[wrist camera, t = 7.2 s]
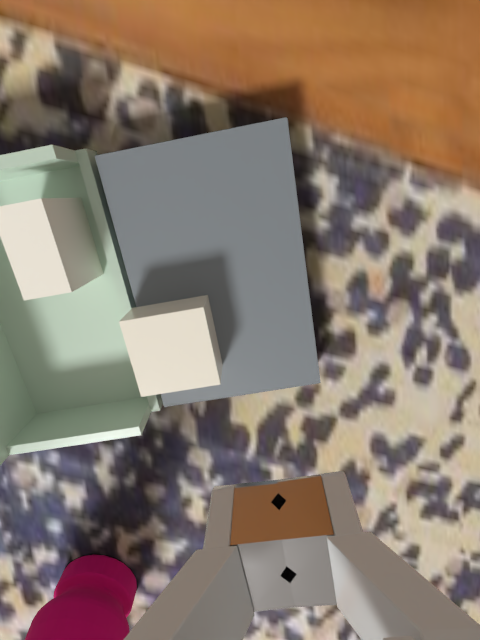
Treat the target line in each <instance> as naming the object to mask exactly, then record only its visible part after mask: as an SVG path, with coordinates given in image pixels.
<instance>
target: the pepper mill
mask: <svg viewBox="0 0 480 640" xmlns="http://www.w3.org/2000/svg"><path fill="white" fill-rule="evenodd" d="M136 590H137V583H136V578H135V576H134V574H133V573H132V571H131V570H130V568H128V567H127V566H126V565H125V564H124V563H122V562H121V561H119V560H117V559H115V558H112V557H108V556H105V555H87V556H82V557H80V558H78V559H75V560H74V561H72V562H71V563H70V564H69V565H68V566H67V567H66V568H65V570H64V572H63V574H62V576H61V578H60V580H59V582H58V584H57V586H56V588H55V591H54V599H52V600H51V601H49V602H48V603H47V604H46V605H44V606H43V607H42V608H41V609H40V610H39V611H38V613H37V614H36V616H35V617H34V619H33V621H32V623H31V626H30V628H29V631H28V633H27V636H26V638H25V640H124V638H125V637H126V636H127V635H128V633H129V625H128V622H127V619H126V618H127V616H128V615H129V613H130V611H131V608H132V605H133V601H134V597H135V593H136Z"/></svg>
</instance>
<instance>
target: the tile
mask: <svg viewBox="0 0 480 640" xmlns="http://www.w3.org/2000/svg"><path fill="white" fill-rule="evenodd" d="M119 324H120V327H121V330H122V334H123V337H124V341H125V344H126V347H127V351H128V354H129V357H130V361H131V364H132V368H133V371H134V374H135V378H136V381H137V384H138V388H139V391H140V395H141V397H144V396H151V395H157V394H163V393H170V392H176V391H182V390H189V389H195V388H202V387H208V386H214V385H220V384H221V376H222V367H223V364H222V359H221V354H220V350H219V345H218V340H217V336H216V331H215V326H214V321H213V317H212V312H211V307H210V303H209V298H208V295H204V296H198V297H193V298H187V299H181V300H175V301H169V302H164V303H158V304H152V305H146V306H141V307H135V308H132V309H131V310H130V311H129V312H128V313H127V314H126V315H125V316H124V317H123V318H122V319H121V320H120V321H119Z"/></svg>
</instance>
